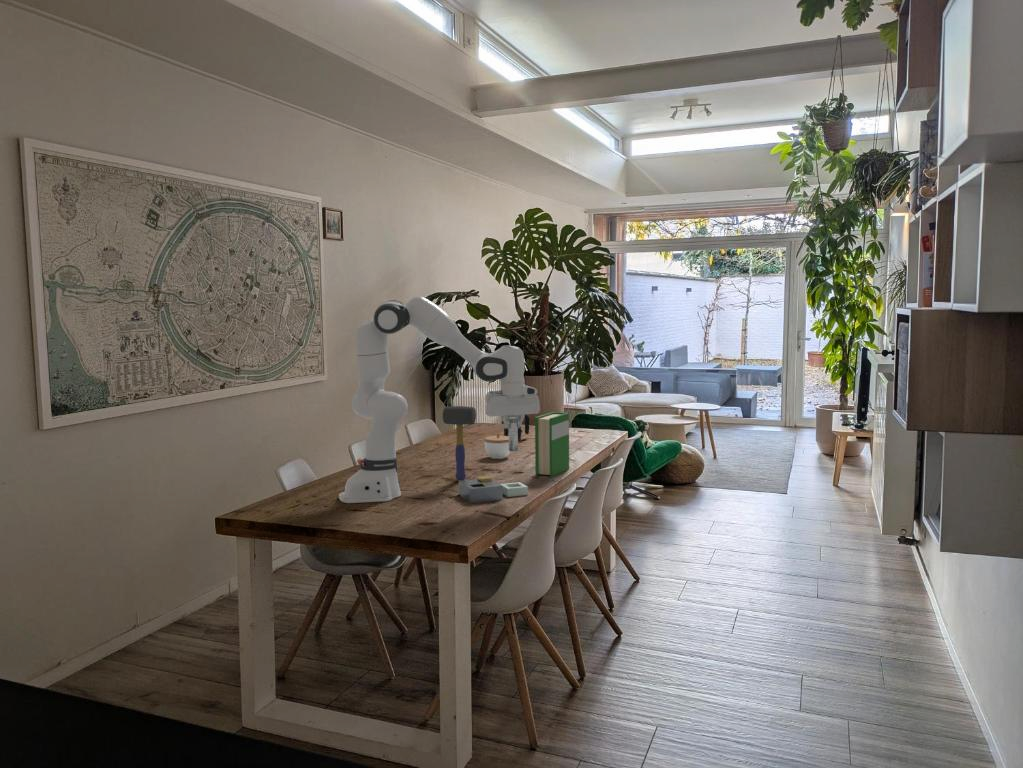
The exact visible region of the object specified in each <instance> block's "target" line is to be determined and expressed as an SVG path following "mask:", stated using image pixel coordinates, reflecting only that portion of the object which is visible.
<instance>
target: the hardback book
mask: <svg viewBox="0 0 1023 768" xmlns="http://www.w3.org/2000/svg"><path fill="white" fill-rule="evenodd" d="M534 436H535V437H534V444H535V445H534V446H535V447H534V449H535V450H534V451H535V453H534V456H535V457H534V458H535V464H534V466H535V476H536V475H538V476H540V475H547V476H549V478H553V477H555V475H556V476H558V475H559V473H560V474H562V473H564V472H566V471H568V470H569V469H570V413H569V412H562V411H561V412H559V411H557V412H556V411H552V412H549V413H548V412H547V413H546V414H542V415H539V416H535V417H534ZM567 469H568V470H567ZM565 470H566V471H565ZM563 471H564V472H563ZM561 472H562V473H561ZM539 474H540V475H539ZM557 474H558V475H557Z"/></svg>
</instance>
